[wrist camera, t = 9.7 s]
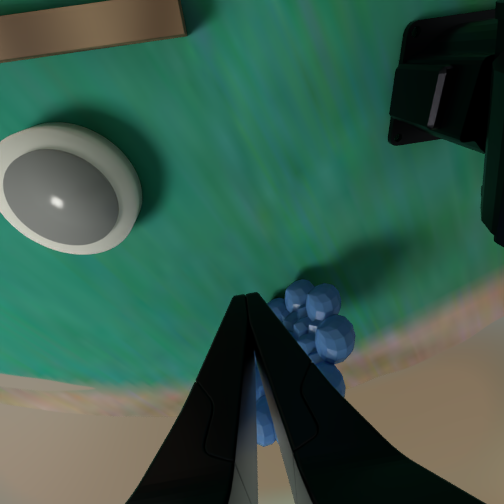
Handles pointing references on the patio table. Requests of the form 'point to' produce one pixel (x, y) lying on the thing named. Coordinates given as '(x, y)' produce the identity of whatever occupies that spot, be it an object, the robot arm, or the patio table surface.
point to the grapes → (309, 340)
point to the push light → (68, 188)
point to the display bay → (88, 27)
